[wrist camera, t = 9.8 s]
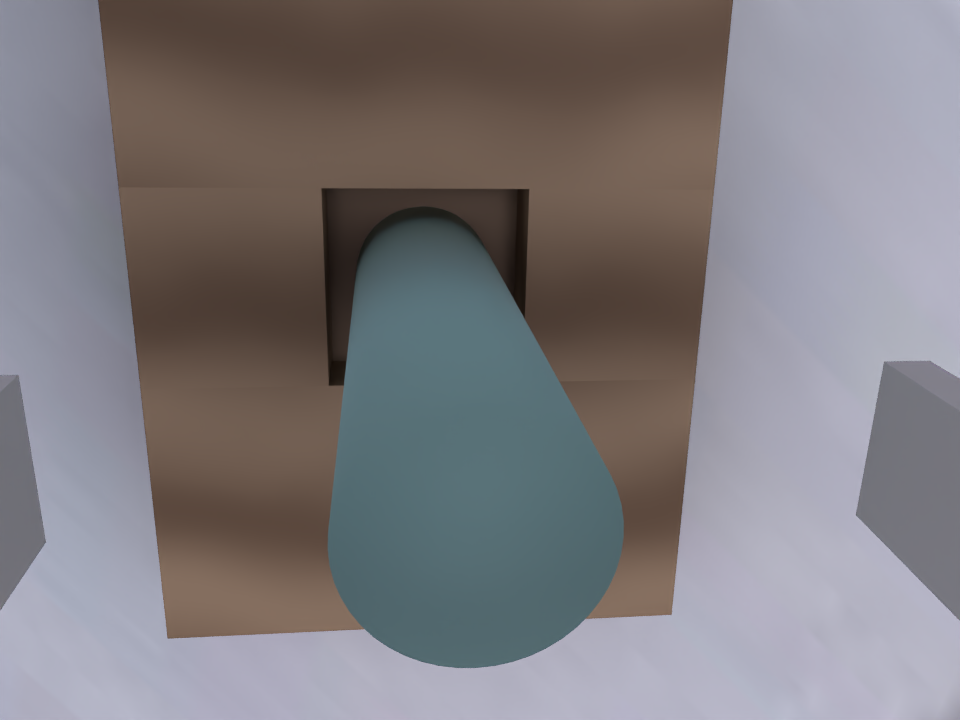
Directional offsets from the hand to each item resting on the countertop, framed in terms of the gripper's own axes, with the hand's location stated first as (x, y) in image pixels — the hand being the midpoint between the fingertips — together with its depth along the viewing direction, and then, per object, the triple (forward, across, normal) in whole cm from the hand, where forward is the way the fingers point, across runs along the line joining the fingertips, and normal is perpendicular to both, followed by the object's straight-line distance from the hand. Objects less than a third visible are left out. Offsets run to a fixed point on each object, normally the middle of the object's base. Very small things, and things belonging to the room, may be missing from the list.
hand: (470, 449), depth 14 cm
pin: (+14, 0, -1) cm, 14 cm away
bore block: (+15, 0, -1) cm, 15 cm away
